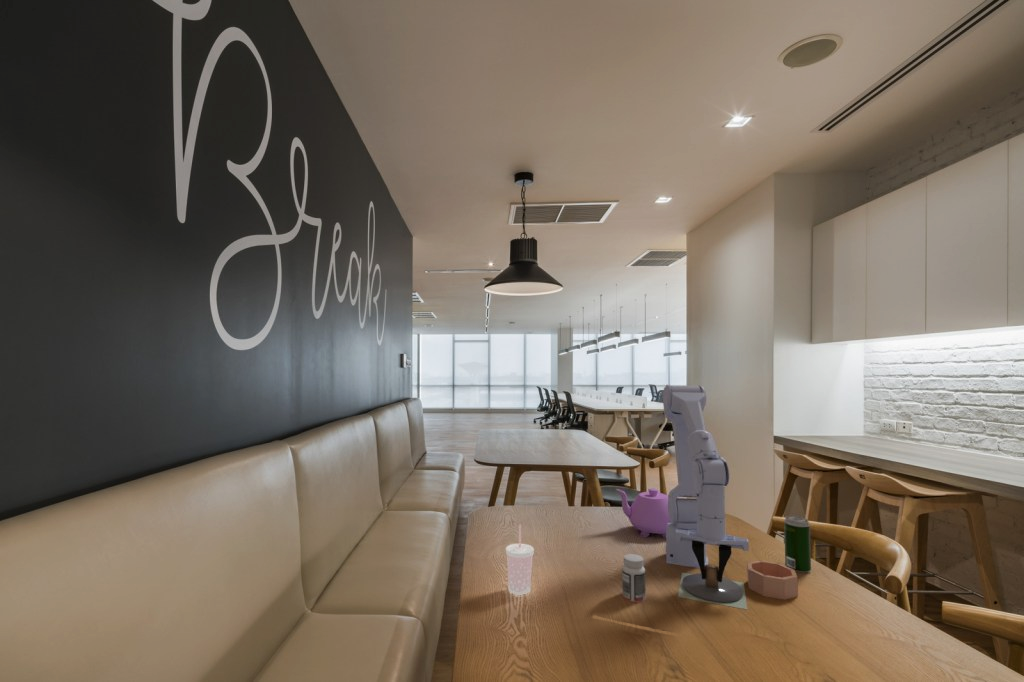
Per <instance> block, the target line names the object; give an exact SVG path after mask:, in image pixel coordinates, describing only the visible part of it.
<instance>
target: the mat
mask: <svg viewBox="0 0 1024 682" xmlns="http://www.w3.org/2000/svg"><path fill="white" fill-rule="evenodd" d="M691 574H692V573H689V572H681V576H680V583H679V589H678V593H677V598H683V599H688V600H693V601H696V602H697V601H698V602H704V603H709V604H715V605H719V606H725V607H731V608H736V609H739V610H740V609H741V610H748V606H747V605H748V604H747V598H746V591H745V582H740V581H736V580H732V581H733V582H735V583H737V584H738V585H739V586H740V587H741V588H742V590H743V597H742V598H741V599H740V600H739V601H736V602H732V603H717V602H711V601H706V600H703V599H700V598H697V597H695V596H693V595H691V594H689V593H688V592H687V591H685V589H684V588H683V582H682V581H683V578H684V577H686V576H688V575H691Z"/></svg>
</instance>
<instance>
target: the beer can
mask: <svg viewBox="0 0 1024 682" xmlns="http://www.w3.org/2000/svg"><path fill="white" fill-rule="evenodd" d="M809 522H810V521H809V519H807V518H804V517H803V516H802V517H800V516H795V515H789V516H785V518H784V521H783V523H784V526H783V529H784V532H783V533H784V561H785V563H784V564H785V565H784V566H787V567H789V568H791V569H794V570H795V573H796V572H797V573H802V574H804V573H805V574H806V573H807V574H810V573H811V571H812V560H811V559H812V558H811V556H812V555H811V553H812V552H811V525H810V523H809Z"/></svg>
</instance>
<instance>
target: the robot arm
mask: <svg viewBox="0 0 1024 682" xmlns="http://www.w3.org/2000/svg"><path fill="white" fill-rule="evenodd" d="M706 392H707V391H706V389H705V387H704V386H702V385H700V384H699V385H671V384H670V385H669V384H666V385H665V386H664V388H663V392H662V403H663V413H664V418H666V419H668V420H669V421H670V422H671V425H672V430H673V443H674V452H675V462H676V463H675V464H676V472H677V475H676V476H677V483H678V484H677V485H676V486H675V487H674V488H672V489H670V491H669V492H668V495H667V496H668V515H669V519H670V521H671V522H672V523H667V529H666V538H665V543H666V544H665V554H666V555H665V557H666V559H665V562H666V564H670V565H671V564H672V565H678V566H683V567H689V568H696V569H699V570H700V574H701V575H702V579H705V565H706V564H709V557H708V556H707V545H710V546H716V547H718V582H722V577H723V575H724V572H725V568H726V566H727V563H728V561H729V560H730V558H731V557H732V556H731V555H732V554H733V553H732V549H738V550H742V551H744V552H750V550H749V548H750V546H749V545H750V543H749V539H748V538H743V537H738V536H735V535H729V534H726V490H725V489H726V487H727V486H728V485H729V483H730V482H729V481H730V470H729V469H730V468H729V465H728V463H727V460H726V459H725V458H724V457H723V455H721V454H719V451H718V448H717V445H716V442H715V438H714V437H713V435H712V433H711V432H709V431H706V425H705V420H704V415H703V412H704V410H705V407H706V404H707V393H706Z"/></svg>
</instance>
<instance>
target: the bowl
mask: <svg viewBox="0 0 1024 682" xmlns="http://www.w3.org/2000/svg"><path fill="white" fill-rule="evenodd" d="M746 565H747V566H746V568H747V569H746V571H747V572H746V573H747V575H746V576H747V577H746V578H747V584H748V585H747V586H748V589H749V590H751V591H753V592H755V593H757V594H759V595H761V596H763V597H767V598H773V599H779V600H789V599H794V598H797V597H799V586H798V584H799V583H798V582H799V581H798V580H799V579H798V575H797V573H796V571H795V570H794V569H791V568H789V567H787V566H785V565H784V564H782V563H780V562H775V561H774V562H773V561H767V560H755V561H754V560H753V561H749V562H747V563H746Z"/></svg>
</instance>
